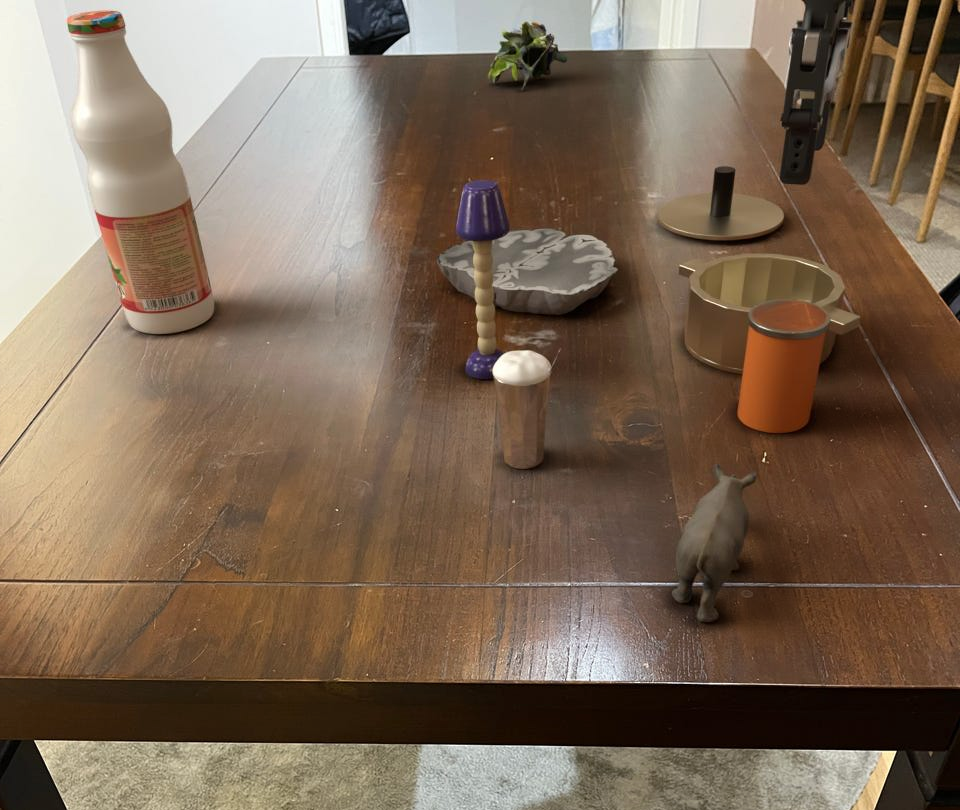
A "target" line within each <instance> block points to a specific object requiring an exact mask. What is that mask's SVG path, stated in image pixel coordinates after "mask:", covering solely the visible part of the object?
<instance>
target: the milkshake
mask: <svg viewBox="0 0 960 810" xmlns="http://www.w3.org/2000/svg"><path fill="white" fill-rule="evenodd" d="M561 350H562V348H559V350H558V352H557V354H556V357H555V358H554V360H553V363H552V365H551V363H550V361H549V360H548V359H547V358H546V357H545V356H544V355H542V354H540V353H538V352H535V351H533V350H527V349H525V350H510V351H506V352H505V353H504V354H503V355H502V356H501V357H500V358H499V359H498V360H497V362H496V363H495V365H494V366H493V384H494V391H495V397H496V403H497V409H498V416H499V423H500V432H501V433H500V434H501V441H502V449H503V459H504V463H505V464H507V465H508V466H510V467H511V468H512V469H513V468H514V469H520V470H526V469H532V468H536V467H537V466H538V465H540V464H541V463H542V462H543V461H544V454H545V452H544V451H545V440H546V439H545V438H546V427H547V426H546V424H547V415H548V413H547V412H548V402H549V394H550V386H551V378H552V377H551V376H552V369H553V367H554V365H555V363H556V361H557V358H558V356H559V354H560V352H561Z"/></svg>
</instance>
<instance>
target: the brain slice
mask: <svg viewBox="0 0 960 810" xmlns="http://www.w3.org/2000/svg"><path fill="white" fill-rule="evenodd" d="M474 253H475V251H474V249H473V245H472V241H470V240H465V241H462V242H460V243H457V244H454V245H450V246H449V247H448V248H447V249H445V250H444V252H443V253H440V254H439V255H438V256H437V257H436V263H437V266H438V267H439V269H440V272H441V274H442V275H443V276H444V277H445V278H446V279H448V281H449V282H450V283H451V285H452V286H453V287H454V288H455V289H456V290H457V291H458V292H459V293H462V294H463V295H467V296H468V297H471V298H473V299H474V300H475V289H476V285H475V281H474V273H475V270H476V269H475V267H474V264H473V256H474ZM491 253H492V256H493V265H492V268H491V269H492V272H493V277H494V278H493V284H492V287H493V290H494V300H493V304H494V307H500V308H501V309H502V310H505V311H510V312H514V313H529V314H535V315H546V316H550V315H554V316H561V315H566V314H568V313H570V312H572V311H574V310H575V309H576V308H577V307H579V306H581V305H582V304H583V303H584V302H587V301H588V300H589V299H595V298H597V297H598V296H599V295H600V294H601V293H602V292H603V291H604V290H605V288H606V287H607V285H608V283H609V282H610V280H611V278H612V277H613V276H614V275H616V273H618V268H617V267H616V266H615V265H616V257H614V256H613V250H612V249H611V248H610V247H608V244H607V243H606V242H605V241H604V240H602V239H599V238H598V237H596V236H594V235H592V234H586V233H576V234H570V235H567V236H566V233H565V231H564V230H559V229H554V228H550V227H538V228H533V229H516V230H509V232H508V234H507V235H506V236H504V237H502V238H499V239H495V240H493V245H492V249H491Z"/></svg>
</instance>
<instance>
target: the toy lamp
mask: <svg viewBox="0 0 960 810" xmlns="http://www.w3.org/2000/svg"><path fill="white" fill-rule="evenodd" d="M509 231H510V222H509V219H508V215H507V210H506V207H505V203H504V199H503V196H502V192H501V189H500V186H499V184H498V183H497V182H495V181H493V180H488V179H477V180H472V181H469V182H467V183H466V184H464V185H463V188H462V193H461V198H460V203H459V208H458V214H457V220H456V225H455V232H456V235H457V236H458V237H459V238H460V239H461V240H465V241H467V240H470V241H472V245H473V249H474V251H475V253H474V256H473V264H474V267H475V269H476V270H475V273H474V281H475V285H476V289H475V299H474V300H475V302H476V306H475V315H476V319H477V323H476V332H477V335H478V338H477V350H474V351H473V352H472V353H471V354H470V355H469V356H468V358H467V360H466V363H465V373H466V375H467V376H469V377H471V378H474V379H476V380H477V379H478V380H492V379H493V380H494V378H493V366H494V365H495V363H496V362H497V360H498V359H499V358H500V357H501V356H502V355H503V354H505V353H504V352H503V351H502V350H500V349H498V348H497V339H496V336H495V334H496V331H497V325H496V322H495V316H496V306H494V304H493V300H494V290H493V287H492V284H493V278H494V277H493V272H492V269H491V268H492V265H493V256H492V253H491V249H492V245H493V240H495V239H499V238H502V237H504V236H506V235H507V234H508V232H509Z"/></svg>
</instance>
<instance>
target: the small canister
mask: <svg viewBox="0 0 960 810" xmlns="http://www.w3.org/2000/svg"><path fill="white" fill-rule="evenodd" d="M830 321H831V317H830V314H829V313H828V312H827V311H826V310H825V309H824V308H822V307H820V306H818V305H816V304H813V303H810V302H806V301H800V300H791V299H779V300H770V301H765V302H762V303H759V304H757V305H755V306H754V307H752V308H751V309H750V311H749V313H748V324H749V331H748V339H747V346H746V353H745V360H744V368H743V374H741V383H740V391H739V398H738V406H737V412H736V413H737V418H738V419H739V421H740V422H741V423H742V424H743V425H745V426H746V427H748V428H750V429H752V430H754V431H757V432H758V431H759V432H761V433H768V434H787V433H792V432H796V431H798V430H800V429H803V428H804V427H806V425H807V424H808V423H809V422H810V417H811V412H812V406H813V402H814V401H813V400H814V396H815V392H816V391H815V390H816V385H817V381H818V375H819V369H820V365H821V364H820V360H821V354H822V349H823V344H824V339H825V333H826V331H827V330H828V328H829V326H830Z"/></svg>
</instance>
